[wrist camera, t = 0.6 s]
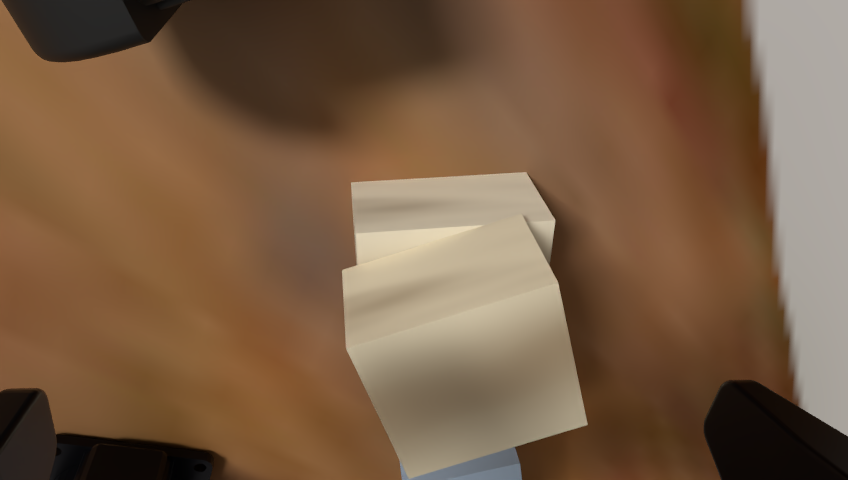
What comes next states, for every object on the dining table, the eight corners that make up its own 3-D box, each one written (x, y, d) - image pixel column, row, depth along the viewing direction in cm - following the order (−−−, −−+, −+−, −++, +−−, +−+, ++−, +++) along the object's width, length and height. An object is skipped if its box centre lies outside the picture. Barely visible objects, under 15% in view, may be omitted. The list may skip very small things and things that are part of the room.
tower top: (551, 346, 22) (587, 424, 19) (397, 394, 22) (408, 478, 19) (521, 213, 19) (558, 282, 16) (342, 270, 19) (346, 348, 16)
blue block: (505, 454, 30) (528, 532, 27) (411, 475, 30) (422, 555, 26) (495, 386, 28) (519, 463, 24) (393, 409, 27) (403, 488, 24)
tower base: (511, 306, 25) (536, 367, 22) (359, 319, 25) (364, 383, 22) (524, 169, 22) (555, 220, 19) (350, 179, 22) (355, 233, 19)
